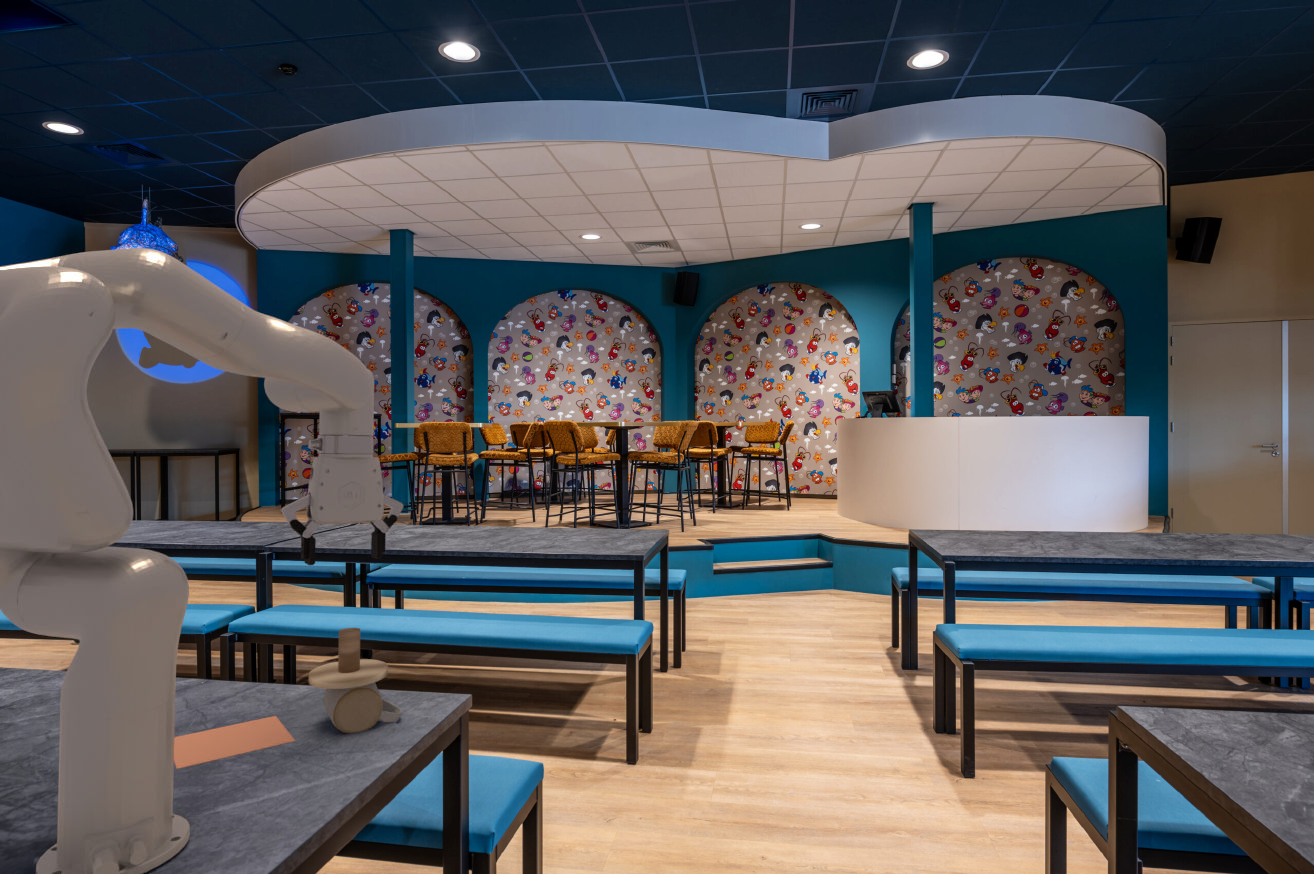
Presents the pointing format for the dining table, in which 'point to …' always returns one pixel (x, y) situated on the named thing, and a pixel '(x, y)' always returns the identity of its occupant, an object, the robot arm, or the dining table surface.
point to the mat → (229, 741)
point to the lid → (348, 666)
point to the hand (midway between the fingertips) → (344, 560)
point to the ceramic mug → (358, 708)
